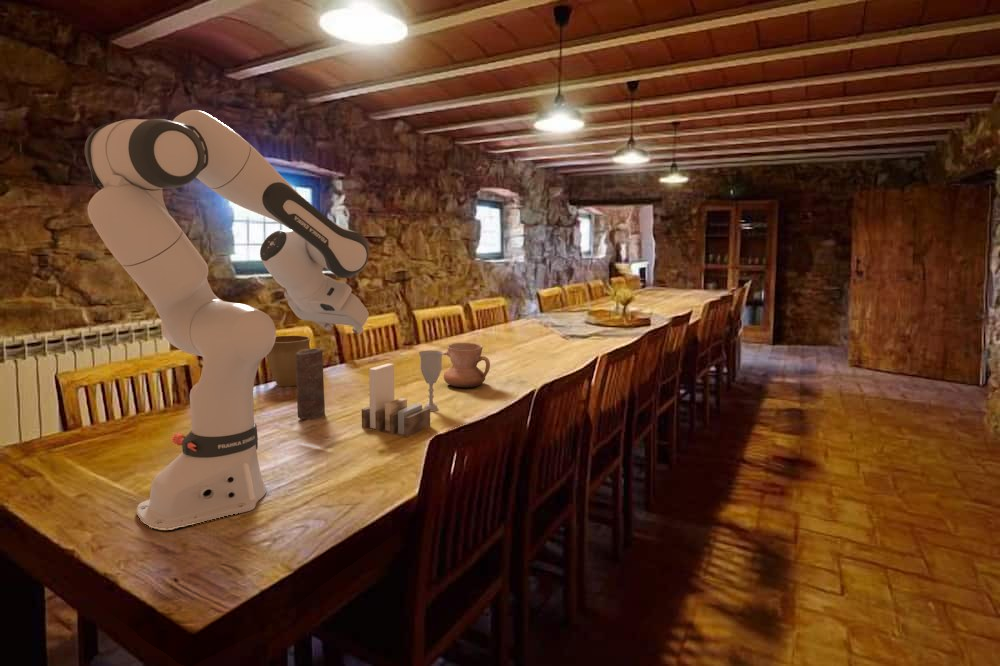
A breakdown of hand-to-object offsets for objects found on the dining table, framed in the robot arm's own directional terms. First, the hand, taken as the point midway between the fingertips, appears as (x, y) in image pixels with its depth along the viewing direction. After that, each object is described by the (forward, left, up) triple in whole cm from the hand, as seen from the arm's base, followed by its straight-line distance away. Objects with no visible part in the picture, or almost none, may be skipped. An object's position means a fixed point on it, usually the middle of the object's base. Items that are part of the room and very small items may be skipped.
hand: (344, 329), depth 143 cm
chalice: (+32, +5, -29) cm, 44 cm away
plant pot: (+20, +63, -29) cm, 72 cm away
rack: (+15, -1, -29) cm, 32 cm away
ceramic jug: (+62, +20, -29) cm, 72 cm away
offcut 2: (+16, -5, -28) cm, 32 cm away
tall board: (+14, +4, -28) cm, 31 cm away
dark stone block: (+4, +24, -29) cm, 38 cm away
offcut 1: (+15, -1, -28) cm, 32 cm away
